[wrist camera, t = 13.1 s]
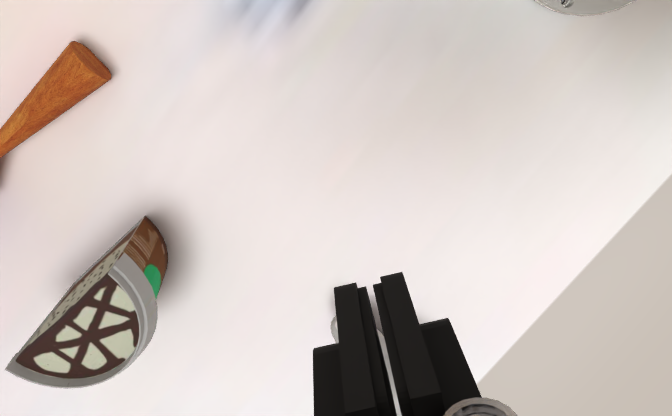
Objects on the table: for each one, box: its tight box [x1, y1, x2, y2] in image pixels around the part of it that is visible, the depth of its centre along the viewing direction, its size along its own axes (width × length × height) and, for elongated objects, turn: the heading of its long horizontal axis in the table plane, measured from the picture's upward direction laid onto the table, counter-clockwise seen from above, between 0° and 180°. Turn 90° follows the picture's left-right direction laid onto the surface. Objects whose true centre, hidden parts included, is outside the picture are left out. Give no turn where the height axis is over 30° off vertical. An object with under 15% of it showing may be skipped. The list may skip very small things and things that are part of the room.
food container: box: [5, 216, 168, 388], centre depth 40 cm, size 12×6×10 cm, turn 132°
